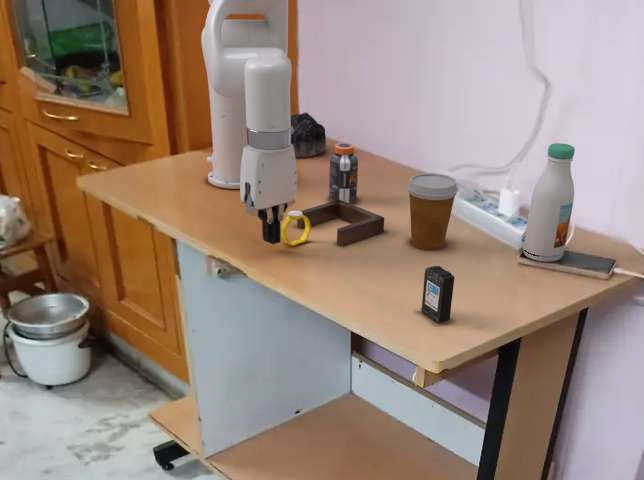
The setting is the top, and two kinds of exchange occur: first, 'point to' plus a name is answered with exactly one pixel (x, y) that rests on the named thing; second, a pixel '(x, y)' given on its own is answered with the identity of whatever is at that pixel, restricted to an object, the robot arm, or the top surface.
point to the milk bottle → (551, 206)
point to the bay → (361, 219)
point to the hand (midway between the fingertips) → (271, 241)
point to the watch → (289, 218)
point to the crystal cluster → (307, 135)
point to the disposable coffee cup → (430, 208)
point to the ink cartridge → (437, 293)
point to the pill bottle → (343, 174)
